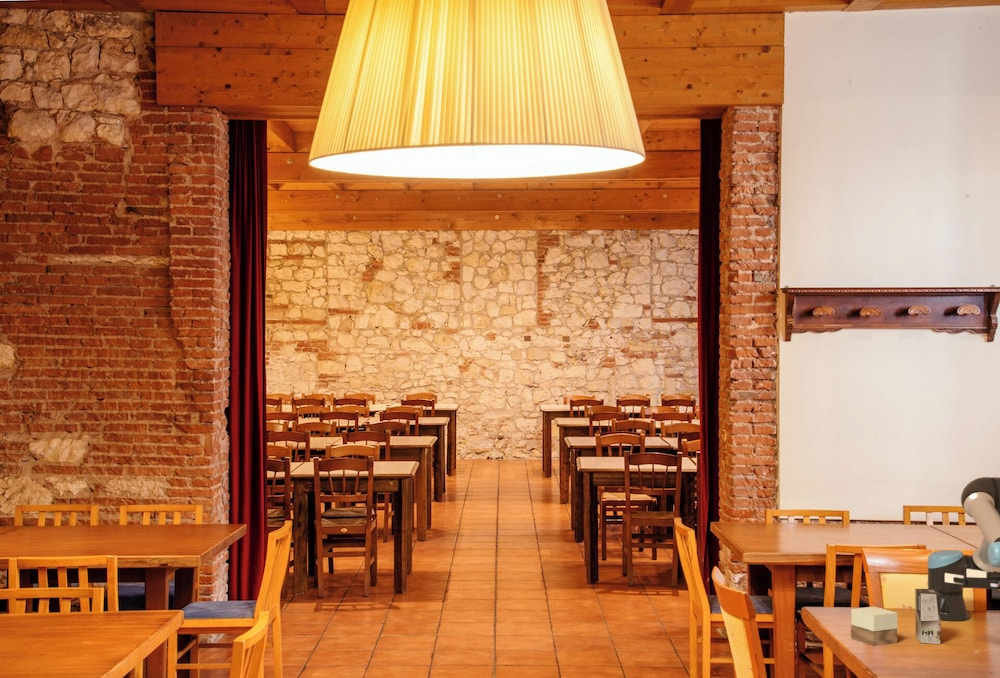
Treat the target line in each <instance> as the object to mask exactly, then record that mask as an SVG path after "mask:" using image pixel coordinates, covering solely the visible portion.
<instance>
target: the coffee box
mask: <svg viewBox="0 0 1000 678" xmlns="http://www.w3.org/2000/svg"><path fill="white" fill-rule="evenodd" d="M940 595H941V594H940V593H938V592H937V591H936V590H935V589H928V588H915V589H914V600H915V601H914V605H915V606H914V612H915V615H914V616H915V617H914V619H915V638H917V640H918V641H919V642H920V643H921V644H932V645H935V644H936V645H941V643H942V642H941V641H942V640H941V630H942V629H941V622H942V620H940V619H941V613H940V612H941V601H940Z"/></svg>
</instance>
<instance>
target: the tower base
mask: <svg viewBox="0 0 1000 678" xmlns="http://www.w3.org/2000/svg"><path fill="white" fill-rule="evenodd" d="M850 639H851V640H853V641H856V642H859V643H862V642H863V643H862V644H865V643H866V644H865V645H868V644H869V645H868V646H871V645H872V647H876V646H877V647H879V646H886V645H892V644H893V645H894V644H898V627H897V628H896V629H888V630H880V631H872V630H868V629H865V628H862V627H858V626H855V625H852V624H850Z"/></svg>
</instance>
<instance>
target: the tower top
mask: <svg viewBox="0 0 1000 678" xmlns="http://www.w3.org/2000/svg"><path fill="white" fill-rule="evenodd" d="M850 619H851V621H850V622H851V624H852V625H855V626H858V627H862V628H865V629H868V630H872V631H880V630H888V629H896V628H897V629H898V612H897V611H892V610H890V609H889V610H888V609H885V608H881V607H876V606H866V607H859V608H851V618H850ZM851 624H850V625H851Z"/></svg>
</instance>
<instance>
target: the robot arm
mask: <svg viewBox="0 0 1000 678" xmlns="http://www.w3.org/2000/svg"><path fill="white" fill-rule="evenodd" d="M960 504H961V507H962V509H963V511H964V512H965V514H966V515H967V516H968V517H969V518H972V520H974V522H975V524H976V525H977V527H978V529H979V530H980V532H981V535H983V537H982V540H981V543H980V546H978V547H977V548H975V549H974V551H973V552H972V554H963V552H962V551H961V550H957V549H954V550H952V549H944V550H936V551H933V552H931V553H929V555H928V558H927V566H926V567H927V589H935V590H936V591H937V592H938V593H940V594H941V595H940V601H941V612H940V613H941V619H940V621H948V622H949V621H950V622H958V621H959V622H960V621H961V622H962V621H966V620H969V618H970V617H969V611H968V609H967V606H966V601H965V598H964V589H981V590H982V589H985V590H995V591H997V590H1000V477H989V476H987V477H986V476H982V477H977V478H975V479H974V480H971V481H970V482H968V483H967V485H965V487H964V488H963V490H962V492H961V495H960Z"/></svg>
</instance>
